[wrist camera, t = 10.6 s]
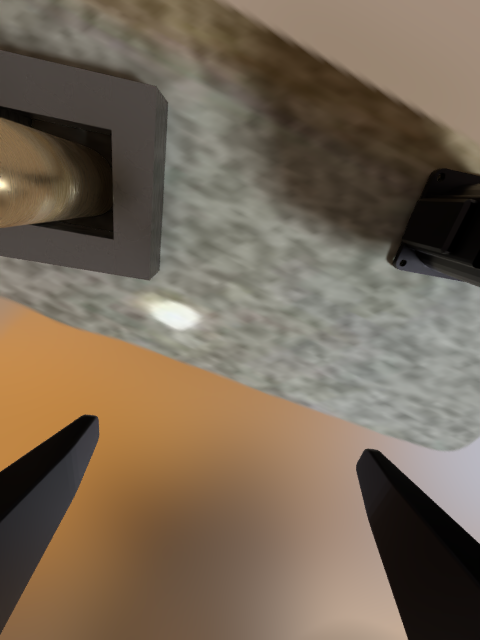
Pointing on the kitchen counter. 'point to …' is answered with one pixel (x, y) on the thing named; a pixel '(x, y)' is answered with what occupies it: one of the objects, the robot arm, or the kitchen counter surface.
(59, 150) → the bushing
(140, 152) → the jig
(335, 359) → the kitchen counter surface
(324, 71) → the kitchen counter surface
